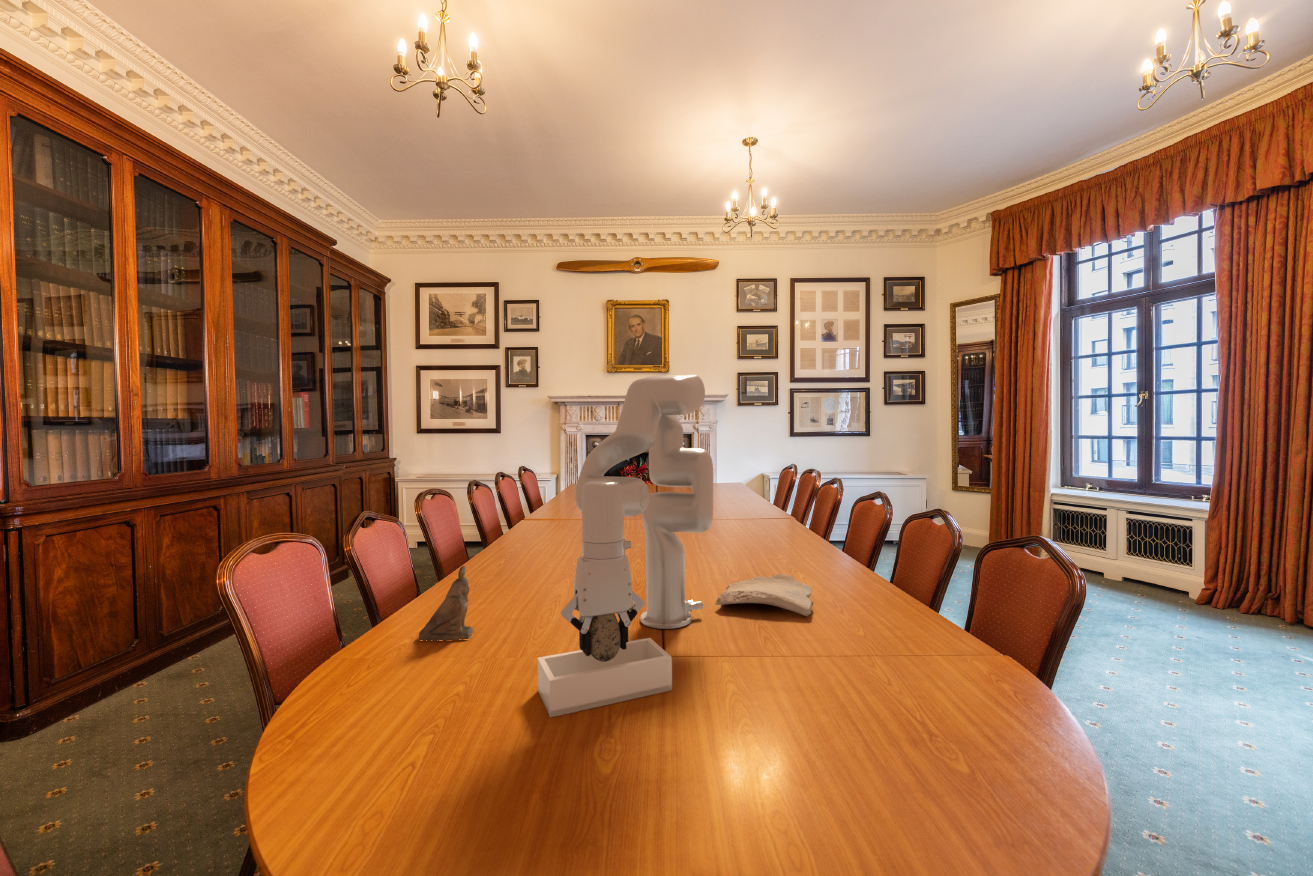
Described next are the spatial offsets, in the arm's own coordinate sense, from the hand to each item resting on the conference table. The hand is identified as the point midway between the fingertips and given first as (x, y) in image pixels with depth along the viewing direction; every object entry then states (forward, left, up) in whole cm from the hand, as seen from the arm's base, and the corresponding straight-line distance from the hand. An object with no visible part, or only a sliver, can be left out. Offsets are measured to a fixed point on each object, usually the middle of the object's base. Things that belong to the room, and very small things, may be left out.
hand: (604, 649), depth 96 cm
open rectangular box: (0, 0, -8) cm, 8 cm away
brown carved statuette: (+25, -40, -8) cm, 48 cm away
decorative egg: (0, 0, -2) cm, 2 cm away
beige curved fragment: (-55, -28, -8) cm, 62 cm away
